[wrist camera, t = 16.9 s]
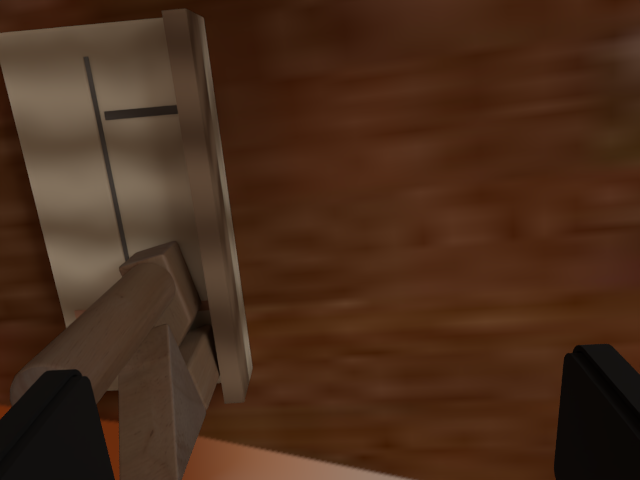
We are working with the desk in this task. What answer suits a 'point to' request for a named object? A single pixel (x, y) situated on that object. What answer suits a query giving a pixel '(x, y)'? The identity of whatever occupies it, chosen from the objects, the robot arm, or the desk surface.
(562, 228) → the desk surface
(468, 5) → the desk surface
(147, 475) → the wooden block
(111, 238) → the marking board
